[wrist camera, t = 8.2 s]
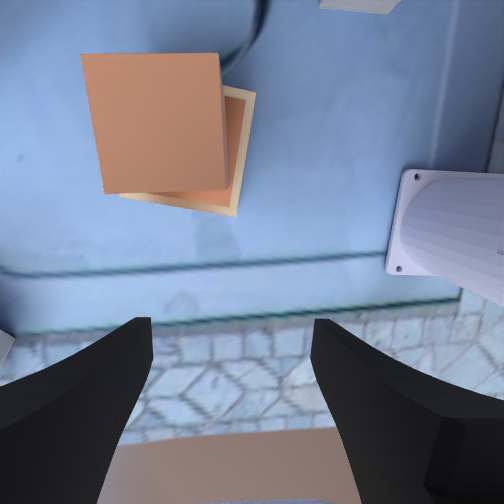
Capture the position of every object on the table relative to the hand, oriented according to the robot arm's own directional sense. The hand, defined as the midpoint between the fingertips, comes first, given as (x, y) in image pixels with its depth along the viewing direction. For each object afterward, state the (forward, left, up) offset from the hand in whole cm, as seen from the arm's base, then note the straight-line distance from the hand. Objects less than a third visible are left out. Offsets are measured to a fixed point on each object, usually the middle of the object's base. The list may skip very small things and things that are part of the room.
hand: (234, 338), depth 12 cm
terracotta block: (+3, -8, -6) cm, 11 cm away
